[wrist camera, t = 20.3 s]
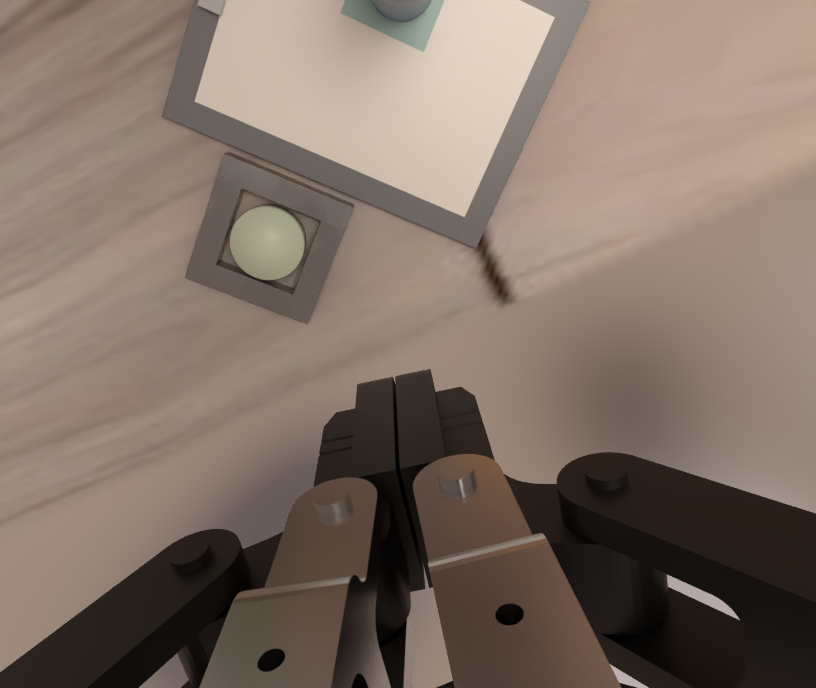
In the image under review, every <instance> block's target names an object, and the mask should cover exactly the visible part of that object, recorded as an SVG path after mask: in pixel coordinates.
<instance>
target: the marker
mask: <svg viewBox="0 0 816 688" xmlns="http://www.w3.org/2000/svg"><path fill="white" fill-rule="evenodd" d="M371 1H372V3H373V5H374V7H375V8H376V9H377V11H378V12H379V13H380V14H381V15H383V16H384V17H386V18H387V19H389V20H392V21H396V22H407V21H411V20H413V19H416V18H417V17H419V16H420V15H421V14H423V12H424V11H425V10H426V9H427V8H428V6H429V4H430V3H431V0H371Z"/></svg>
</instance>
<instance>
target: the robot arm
mask: <svg viewBox="0 0 816 688" xmlns="http://www.w3.org/2000/svg"><path fill="white" fill-rule="evenodd" d="M395 379H396V385H395V382H394V379H393V377H390V378H385V379H380V380H376V381H370V382H366V383H361V384H358V385H357V395H356V406H355V409H351V410H346V411H341V412H337V413H336V414H335V415H334V416H333V417H332V418H331V419H330V420H329V422H328V423H327V424H326V425H325V426H324V430H323V435H322V444H321V447H320V453H319V454H320V456H319V458H318V464H317V470H316V476H315V481H314V487H313V488H311V489H310V490H308V491H307V492H305V493H304V494H303V495H301V496H300V497H299V498H298V499H297V500H296V501H295V503H294V504H293V506H292V508H291V510H290V514H289V516H288V519H287V522H286V525H285V528H284V531H283V532H281V533H280V534H278V535H276V536H274V537H271V538H269V539H267V540H264V541H262V542H260V543H257V544H255V545H252V546H250V547H247V548H245V549H242V546H241V543H240V540H239V539H238V537H237V535H235V534H234V533H233V532H231V531H228V530H223V529H210V530H205V531H200V532H196V533H194V534H191V535H188V536H186V537H184V538H182V539H180V540H178V541H176V542H174V543H173V544H171V545H170V546H168V547H167V548H166V549H164V550H163V551H161V552H160V553H159V554H157V555H156V556H155V557H153V558H152V559H151V560H149V561H148V562H147V563H145V564H144V565H143V566H141V567H140V568H139V569H137V570H136V571H135V572H133V573H132V574H131V575H129V576H128V577H127V578H126V579H124V580H123V581H121V582H120V583H119V584H117V585H116V586H115V587H113V588H112V589H111V590H109V591H108V592H107V593H105V594H104V595H103V596H101V597H100V598H99V599H97V600H96V601H95V602H93V603H92V604H91V605H89V606H88V607H87V608H85V609H84V610H83V611H81V612H80V613H79V614H77V615H76V616H75V617H73V618H72V619H71V620H69V621H68V622H67V623H65V624H64V625H63V626H61V627H60V628H59V629H57V630H56V631H55V632H54V633H52V634H51V635H49V636H48V637H47V638H45V639H44V640H43V641H41V642H40V643H39V644H37V645H36V646H35V647H33V648H32V649H31V650H30V651H28V652H27V653H25V654H24V655H23V656H21V657H20V658H19V659H17V660H16V661H15V662H13V663H12V664H11V665H9V666H8V667H7V668H5V669H4V670H3V671H1V672H0V688H139V687H140V686H141V685H142V684H143V683H144V682H145V681H146V680H147V679H148V678H150V677H151V676H152V675H153V674H154V673H155V672H156V671H157V670H159V669H160V668H161V667H162V666H163V665H164V664H165V663H166V662H167V661H169V659H171V658H172V657H173V656H174V655H175V654H176V653H177V654H178V656H179V659H180V661H181V663H182V665H183V668H184V670H185V672H186V674H187V677H188V679H189V681H188V682H187V683H185V685H183V686H182V687H181V688H412V665H413V636H414V633H413V632H414V631H413V625H412V621H411V618H410V614H409V613H410V607H411V602H410V592H412V591H417V590H422V589H425V579H424V568H425V572H426V576H427V580H428V584H429V587H430V588H431V587H433V589H434V594H435V598H436V603H437V608H438V613H439V617H440V622H441V627H442V631H443V636H444V641H445V645H446V650H447V655H448V659H449V664H450V668H451V673H452V678H453V681H451V682H449V683H446V684H444V685H442V686H439V687H437V688H636V687H633V686H629V685H625V684H622V683H619V682H618V680H617V678H616V676H615V674H614V672H613V670H612V668H611V666H610V664H611V665H613V666H614V667H616V668H618V669H619V670H621V671H622V672H624V673H626V674H627V675H629V676H631V677H632V678H634V679H636V680H637V681H639V682H641V683H642V684H644V685H646V686H647V687H649V688H816V514H815V513H812V512H809V511H806V510H803V509H800V508H797V507H793V506H790V505H787V504H783V503H781V502H778V501H774V500H771V499H768V498H765V497H762V496H759V495H756V494H752V493H749V492H746V491H743V490H739V489H737V488H734V487H730V486H727V485H724V484H721V483H718V482H715V481H711V480H708V479H705V478H702V477H699V476H695V475H693V474H689V473H686V472H683V471H680V470H677V469H674V468H670V467H667V466H664V465H661V464H657V463H655V462H651V461H648V460H645V459H642V458H639V457H636V456H632V455H628V454H623V453H613V452H605V453H596V454H590V455H586V456H583V457H580V458H577V459H575V460H573V461H572V462H570V463H568V464H567V465H566V466H565V467H564V468H563V469H562V470H561V471H560V473H559V475H558V477H557V484H533V483H526V482H521V481H517V480H515V479H512V478H510V477H508V476H506V475H505V474H504V473H503V471H502V469H501V467H500V466H499V464H498V463H496V462H495V460H494V456H493V454H492V450H491V447H490V444H489V440H488V437H487V434H486V431H485V427H484V424H483V422H482V418H481V415H480V412H479V408H478V405H477V402H476V398H475V396H474V395H472V394H471V393H469V392H468V391H466V390H465V389H463V388H462V387H457V388H452V389H448V390H443V391H438V392H435V388H434V383H433V378H432V374H431V370H430V369H428V370H423V371H418V372H413V373H409V374H404V375H399V376H396V378H395ZM423 564H424V568H423ZM667 575H670V576H672V577H674V578H676V579H679V580H681V581H683V582H686V583H687V584H690V585H692V586H694V587H696V588H698V589H701V590H703V591H705V592H707V593H710V594H712V595H714V596H716V597H717V598H719V599H721V600H722V601H723V602H725V603H726V604H727V605H728V606H729V607H730V608H732V610H733V611H734V612H735V613H736V615H737V616H738V617H739V619H740V620H738V619H736V618H734V617H731V616H729V615H727V614H725V613H723V612H721V611H719V610H716V609H714V608H712V607H710V606H708V605H705V604H704V603H701V602H699V601H697V600H695V599H693V598H691V597H688V596H686V595H684V594H682V593H680V592H678V591H676V590H674V589H671V588H669V587H668V583H667Z"/></svg>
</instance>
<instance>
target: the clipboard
mask: <svg viewBox="0 0 816 688" xmlns="http://www.w3.org/2000/svg"><path fill="white" fill-rule="evenodd" d="M589 4H590V1H588V0H431V3H430V4H429V6H428V8H427V9H426V10H425V11H424V12H423V14H421V15H420V16H419V17H417V18H416V19H413V20H411V21H407V22H396V21H392V20H389V19H387V18H386V17H384V16H383V15H381V14H380V13H379V12H378V11H377V9H376V8H375V7H374V5H373V3H372V1H371V0H194V4H193V7H192V11H191V15H190V18H189V22H188V25H187V29H186V32H185V36H184V40H183V43H182V47H181V50H180V54H179V57H178V61H177V64H176V68H175V72H174V75H173V79H172V82H171V86H170V89H169V93H168V96H167V100H166V104H165V107H164V111H163V114H162V116H163V117H165V118H167V119H170V120H172V121H175V122H177V123H179V124H182V125H184V126H186V127H189V128H191V129H194V130H196V131H198V132H201V133H203V134H205V135H208V136H210V137H213V138H215V139H217V140H220V141H222V142H224V143H227V144H229V145H232V146H234V147H236V148H239V149H241V150H243V151H246V152H248V153H251V154H253V155H255V156H258V157H260V158H262V159H265V160H267V161H270V162H272V163H274V164H277V165H279V166H281V167H284V168H286V169H289V170H291V171H293V172H296V173H298V174H300V175H303V176H305V177H308V178H310V179H312V180H315V181H317V182H319V183H322V184H324V185H327V186H329V187H331V188H334V189H336V190H338V191H341V192H343V193H346V194H348V195H350V196H353V197H355V198H357V199H360V200H362V201H365V202H367V203H369V204H372V205H374V206H376V207H379V208H381V209H384V210H386V211H388V212H391V213H393V214H395V215H398V216H400V217H403V218H405V219H407V220H410V221H412V222H414V223H417V224H419V225H422V226H424V227H426V228H429V229H431V230H433V231H436V232H438V233H441V234H443V235H445V236H448V237H450V238H452V239H455V240H457V241H460V242H462V243H464V244H467V245H469V246H471V247H474V248H476V247H477V245H478V243H479V241H480V239H481V236H482V234H483V232H484V230H485V228H486V226H487V224H488V221H489V219H490V217H491V215H492V213H493V211H494V209H495V206H496V204H497V202H498V200H499V198H500V196H501V194H502V191H503V189H504V187H505V185H506V183H507V181H508V178H509V176H510V174H511V172H512V170H513V168H514V166H515V163H516V161H517V159H518V157H519V155H520V153H521V151H522V148H523V146H524V144H525V142H526V140H527V138H528V136H529V133H530V131H531V129H532V127H533V125H534V123H535V120H536V118H537V116H538V114H539V112H540V110H541V108H542V105H543V103H544V101H545V99H546V97H547V95H548V93H549V90H550V88H551V86H552V84H553V82H554V80H555V78H556V75H557V73H558V71H559V69H560V67H561V65H562V62H563V60H564V58H565V56H566V54H567V52H568V50H569V47H570V45H571V43H572V41H573V39H574V37H575V35H576V32H577V30H578V28H579V26H580V24H581V22H582V20H583V17H584V15H585V13H586V11H587V9H588V7H589Z"/></svg>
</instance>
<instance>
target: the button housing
mask: <svg viewBox="0 0 816 688" xmlns="http://www.w3.org/2000/svg"><path fill="white" fill-rule="evenodd" d="M244 190H247V191H249V192H252V193H254V194H257V195H259V196H261V197H264V198H266V199H269V200H271V201H274V202H276V203H279V204H281V205H283V206H286V207H288V208H291V209H293V210H296V211H298V212H300V213H303V214H305V215H308V216H310V217H313V218H315V219H318V220H320V221H321V223H320V225H319V228H318V230H317V233H316V236H315V238H314V241H313V244H312V246H311V249H310V252H309V254H308V257H307V260H306V262H305V265H304V267H303V270H302V273H301V275H300V278H299V281H298V283H297V286H296V289H293V288H291V287H288V286H285V285H283V284H280V283H278V282H275V281H273V280H263V279H258V278H255V277H253V276H251V275H249V274H248V273H246V272H245V271H244V270H242V269H241V268H239V267H237V266H234V265H231V264H229V263H226V262H224V261H221V257H222V254H223V251H224V248H225V245H226V242H227V239H228V236H229V233H230V230H231V227H232V224H233V221H234V218H235V215H236V212H237V209H238V206H239V203H240V200H241V197H242V194H243V191H244ZM353 207H354V204H352V203H350V202H347V201H345V200H342V199H340V198H338V197H335V196H333V195H331V194H328V193H326V192H323V191H321V190H319V189H316V188H314V187H311V186H309V185H307V184H304V183H302V182H299V181H297V180H295V179H292V178H290V177H288V176H285V175H283V174H280V173H278V172H276V171H273V170H271V169H268V168H266V167H264V166H261V165H259V164H257V163H254V162H252V161H249V160H247V159H245V158H242V157H240V156H237V155H235V154H233V153H230V152H227V153H224V156H223V159H222V162H221V166H220V169H219V172H218V175H217V178H216V181H215V185H214V188H213V191H212V194H211V197H210V200H209V203H208V207H207V210H206V213H205V216H204V219H203V222H202V225H201V229H200V232H199V235H198V238H197V241H196V244H195V248H194V251H193V254H192V257H191V260H190V263H189V266H188V270H187V273H186V276H185V278H187V279H190V280H193V281H195V282H198V283H200V284H203V285H206V286H208V287H211V288H214V289H216V290H219V291H221V292H224V293H227V294H229V295H232V296H235V297H237V298H240V299H242V300H245V301H248V302H250V303H253V304H256V305H258V306H261V307H263V308H266V309H269V310H271V311H274V312H277V313H279V314H282V315H285V316H287V317H290V318H292V319H295V320H298V321H300V322H303V323H306V324H308V322H309V319H310V317H311V314H312V312H313V309H314V307H315V304H316V302H317V299H318V296H319V294H320V291H321V289H322V286H323V284H324V281H325V279H326V276H327V274H328V271H329V268H330V266H331V263H332V261H333V258H334V256H335V253H336V251H337V248H338V246H339V243H340V240H341V238H342V235H343V233H344V230H345V228H346V225H347V223H348V220H349V218H350V215H351V212H352V210H353Z"/></svg>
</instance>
